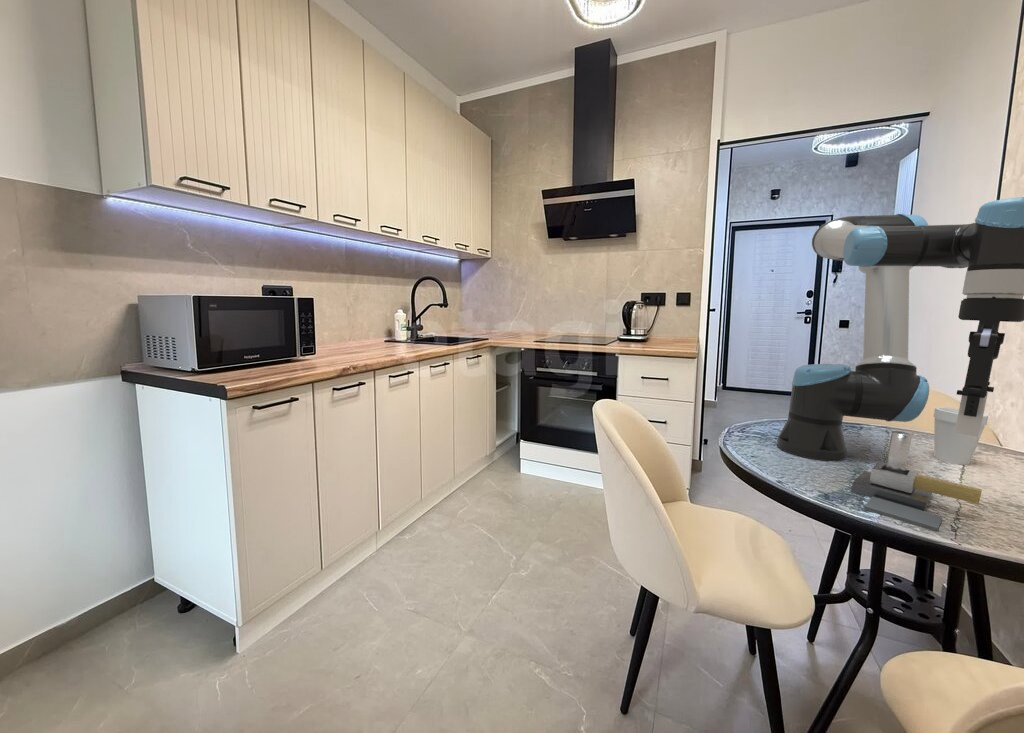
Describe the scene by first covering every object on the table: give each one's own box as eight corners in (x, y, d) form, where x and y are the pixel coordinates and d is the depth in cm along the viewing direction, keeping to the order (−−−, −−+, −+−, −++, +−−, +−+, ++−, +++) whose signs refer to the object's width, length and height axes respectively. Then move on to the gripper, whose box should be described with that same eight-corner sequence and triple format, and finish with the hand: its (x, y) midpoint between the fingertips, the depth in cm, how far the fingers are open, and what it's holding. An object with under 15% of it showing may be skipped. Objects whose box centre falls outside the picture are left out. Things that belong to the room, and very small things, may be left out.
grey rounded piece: (924, 451, 117) (933, 405, 115) (973, 460, 111) (983, 411, 110) (928, 460, 110) (937, 411, 108) (981, 470, 104) (991, 418, 102)
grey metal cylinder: (881, 484, 88) (890, 432, 86) (884, 480, 90) (893, 430, 88) (901, 489, 86) (910, 436, 84) (903, 485, 88) (912, 434, 86)
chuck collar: (869, 482, 88) (871, 468, 88) (875, 475, 92) (878, 461, 92) (977, 510, 77) (980, 495, 76) (979, 501, 81) (982, 486, 80)
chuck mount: (851, 491, 89) (852, 482, 88) (863, 479, 96) (864, 470, 95) (923, 512, 80) (925, 502, 80) (931, 496, 87) (932, 487, 87)
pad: (863, 509, 81) (864, 506, 81) (871, 499, 85) (872, 496, 85) (937, 531, 73) (938, 528, 73) (941, 519, 78) (942, 516, 78)
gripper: (1031, 295, 61) (999, 447, 65) (1028, 299, 75) (1001, 426, 78) (957, 294, 67) (930, 435, 70) (966, 299, 80) (943, 417, 84)
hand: (968, 430), depth 74 cm, fingers open, 8 cm apart
